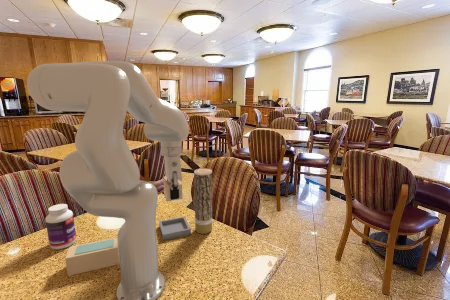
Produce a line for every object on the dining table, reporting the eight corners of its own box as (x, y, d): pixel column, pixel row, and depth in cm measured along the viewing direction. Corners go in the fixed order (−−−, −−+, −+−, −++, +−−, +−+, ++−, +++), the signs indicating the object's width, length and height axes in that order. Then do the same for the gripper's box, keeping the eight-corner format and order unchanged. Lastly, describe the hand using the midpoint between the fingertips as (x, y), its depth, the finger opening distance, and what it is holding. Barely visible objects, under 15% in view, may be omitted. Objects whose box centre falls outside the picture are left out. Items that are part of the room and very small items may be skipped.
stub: (182, 198, 88) (182, 183, 87) (166, 201, 86) (165, 185, 85) (179, 193, 94) (178, 178, 92) (164, 195, 92) (163, 180, 90)
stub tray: (190, 234, 90) (190, 229, 90) (163, 240, 86) (162, 234, 86) (184, 221, 100) (184, 216, 99) (159, 226, 96) (159, 221, 95)
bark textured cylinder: (214, 232, 92) (214, 172, 86) (197, 236, 89) (196, 174, 84) (209, 224, 98) (208, 167, 93) (193, 227, 95) (192, 169, 90)
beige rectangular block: (119, 264, 74) (117, 246, 72) (67, 276, 68) (64, 258, 67) (119, 252, 79) (118, 236, 78) (71, 263, 74) (68, 246, 73)
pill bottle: (73, 248, 81) (67, 210, 78) (46, 252, 79) (39, 214, 76) (79, 235, 89) (74, 200, 86) (55, 239, 86) (49, 203, 83)
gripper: (186, 154, 80) (188, 203, 84) (176, 145, 95) (178, 186, 99) (164, 156, 77) (166, 206, 81) (158, 146, 92) (160, 188, 96)
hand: (173, 195), depth 90 cm, fingers closed on stub, 6 cm apart
